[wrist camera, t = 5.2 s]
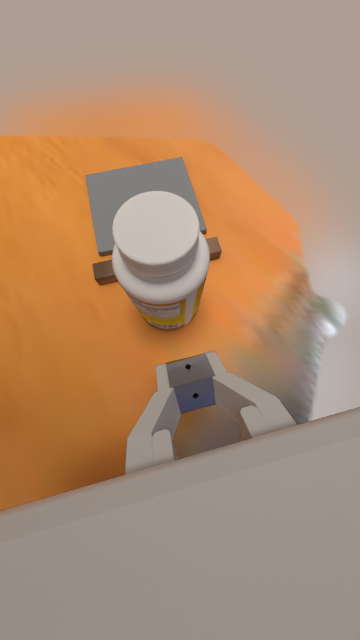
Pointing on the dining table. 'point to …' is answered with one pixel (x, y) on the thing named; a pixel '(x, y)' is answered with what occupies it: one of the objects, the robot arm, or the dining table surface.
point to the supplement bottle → (160, 257)
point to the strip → (107, 275)
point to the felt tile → (134, 193)
